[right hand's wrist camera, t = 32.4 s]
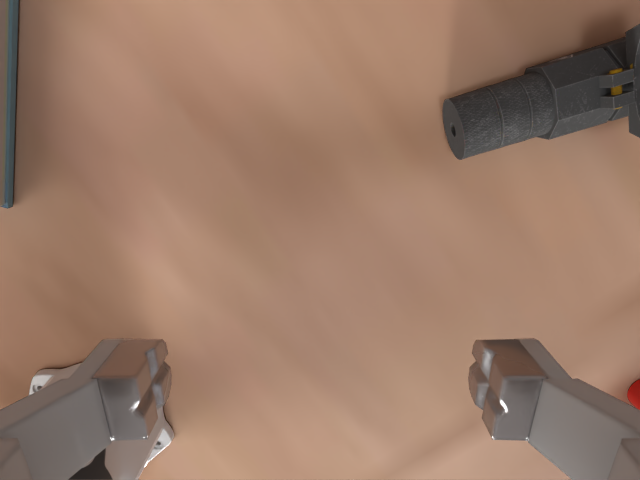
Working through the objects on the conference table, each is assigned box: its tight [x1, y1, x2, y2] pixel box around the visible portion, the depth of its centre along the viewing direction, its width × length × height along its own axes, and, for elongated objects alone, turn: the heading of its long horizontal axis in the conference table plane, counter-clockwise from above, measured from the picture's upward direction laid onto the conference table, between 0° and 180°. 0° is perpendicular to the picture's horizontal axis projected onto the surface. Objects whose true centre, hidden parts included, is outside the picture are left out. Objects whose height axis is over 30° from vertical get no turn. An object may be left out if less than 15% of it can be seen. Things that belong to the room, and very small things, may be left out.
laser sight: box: [443, 24, 640, 160], centre depth 34 cm, size 10×22×10 cm, turn 107°
